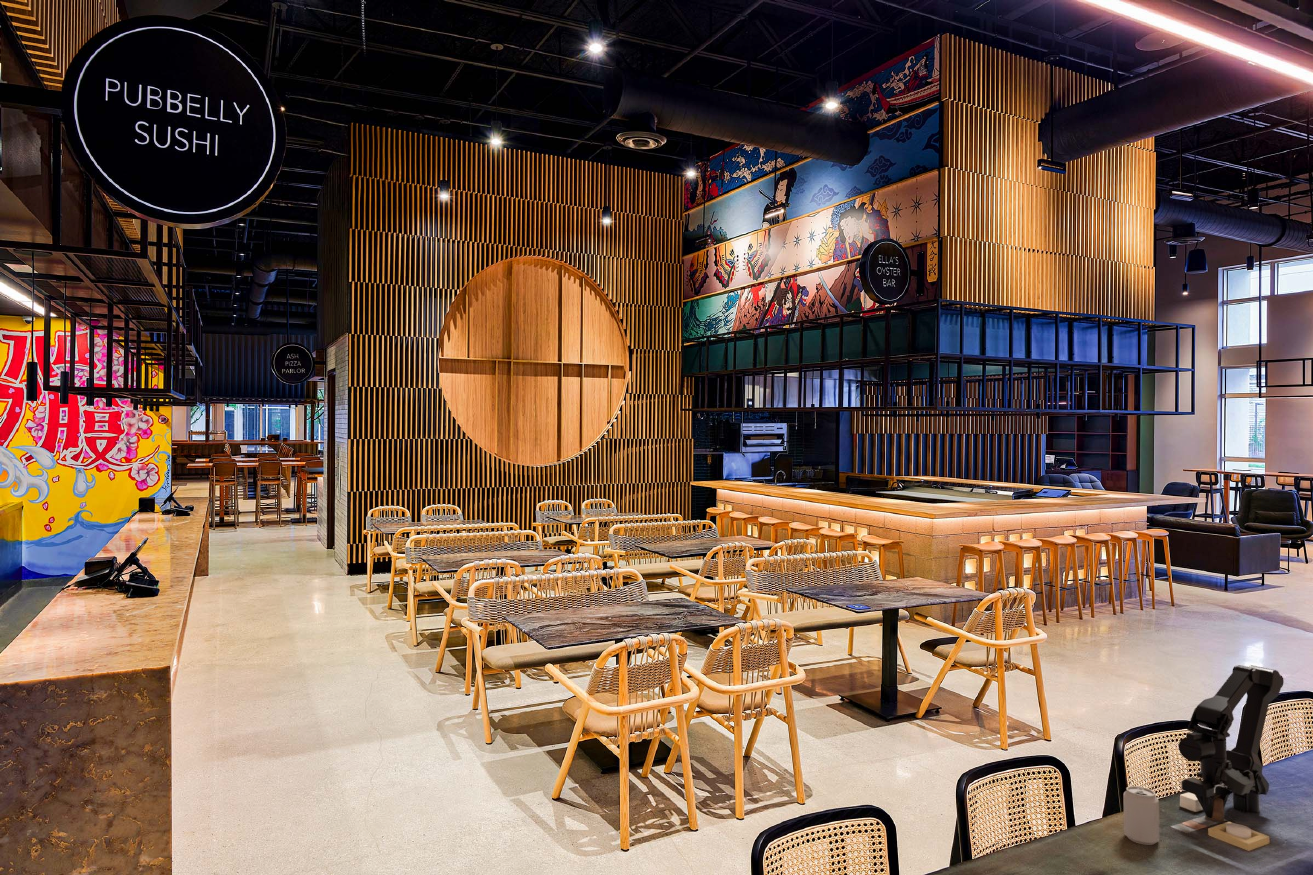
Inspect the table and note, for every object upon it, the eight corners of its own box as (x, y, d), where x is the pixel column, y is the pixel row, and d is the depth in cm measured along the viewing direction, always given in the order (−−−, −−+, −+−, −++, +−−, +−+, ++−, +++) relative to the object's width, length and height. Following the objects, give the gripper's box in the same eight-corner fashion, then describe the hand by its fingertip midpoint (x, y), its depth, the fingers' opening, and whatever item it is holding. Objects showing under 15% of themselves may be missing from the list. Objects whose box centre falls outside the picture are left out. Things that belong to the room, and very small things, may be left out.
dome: (1233, 833, 200) (1233, 821, 200) (1255, 842, 195) (1255, 829, 195) (1221, 837, 197) (1221, 825, 198) (1244, 846, 193) (1243, 833, 193)
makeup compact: (1205, 814, 212) (1205, 811, 212) (1234, 825, 206) (1233, 821, 206) (1163, 827, 204) (1163, 824, 204) (1192, 839, 198) (1192, 835, 198)
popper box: (1229, 831, 202) (1229, 821, 202) (1269, 846, 194) (1269, 836, 194) (1208, 838, 198) (1208, 828, 198) (1248, 854, 190) (1248, 843, 190)
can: (1124, 841, 196) (1124, 792, 197) (1123, 829, 203) (1122, 781, 203) (1160, 848, 193) (1159, 798, 193) (1158, 836, 199) (1157, 787, 200)
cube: (1189, 807, 217) (1188, 792, 217) (1204, 812, 214) (1204, 797, 214) (1180, 809, 216) (1179, 794, 216) (1195, 815, 212) (1195, 800, 212)
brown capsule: (1210, 813, 211) (1210, 794, 211) (1227, 819, 207) (1226, 799, 207) (1201, 816, 209) (1201, 796, 209) (1217, 822, 205) (1217, 802, 206)
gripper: (1226, 771, 197) (1227, 835, 197) (1267, 759, 206) (1269, 821, 205) (1179, 756, 207) (1180, 817, 207) (1221, 746, 216) (1222, 804, 215)
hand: (1214, 815), depth 208 cm, fingers open, 4 cm apart
